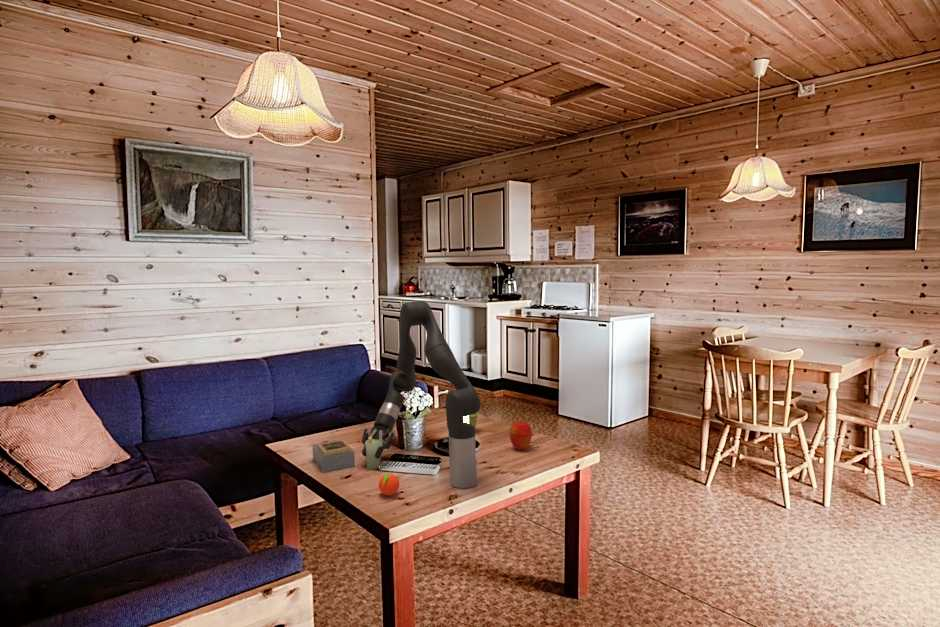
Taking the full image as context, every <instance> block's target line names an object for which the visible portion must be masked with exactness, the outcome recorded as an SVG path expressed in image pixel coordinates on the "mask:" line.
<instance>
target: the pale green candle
mask: <svg viewBox="0 0 940 627" xmlns="http://www.w3.org/2000/svg"><path fill="white" fill-rule="evenodd" d="M378 447H379V440H378V439H373V438H372V437H369V440H367V441H366V456H365V459H366V461H365V464H366V469H368V470H378V469H380V468H379V466H380V467H381V457H379V459H377V458H376V457H375V454H376V451H377V449H378Z"/></svg>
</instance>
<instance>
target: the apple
mask: <svg viewBox="0 0 940 627" xmlns="http://www.w3.org/2000/svg"><path fill="white" fill-rule="evenodd" d="M508 432H509V433H508V434H509V439H510V442H511V445H512V446H513V447H514V448H515V449H516V450H518V451H524V450H526V448H528V447H529V445H530V443H531V441H532V437H533V435H532V434H533V431H532V429H531V425H530V424H529V423H528V422H525V421H521V420H520V421H519V420H518V421H515V422H514V423H513V424H511V425H510V428H509V431H508Z"/></svg>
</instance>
